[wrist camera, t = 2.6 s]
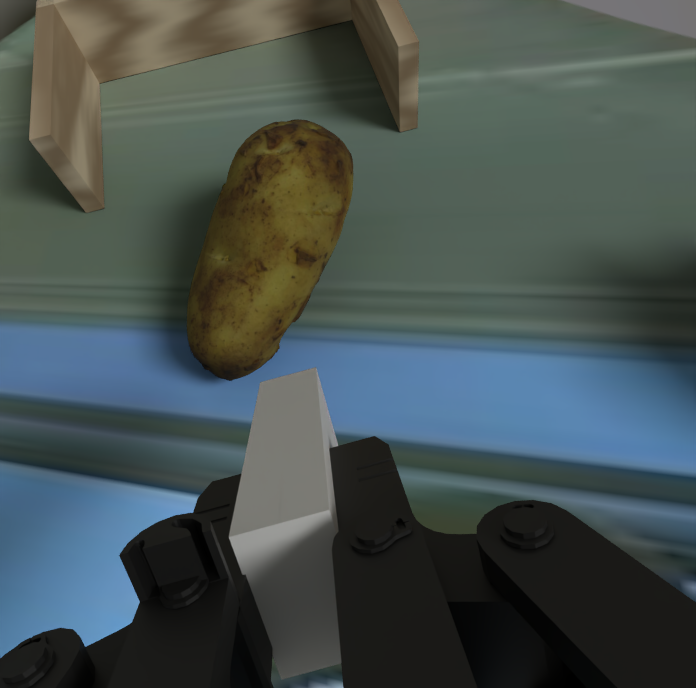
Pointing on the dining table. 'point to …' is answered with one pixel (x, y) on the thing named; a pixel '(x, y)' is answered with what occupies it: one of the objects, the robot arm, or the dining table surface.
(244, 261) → the potato
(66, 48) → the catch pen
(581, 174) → the dining table surface
